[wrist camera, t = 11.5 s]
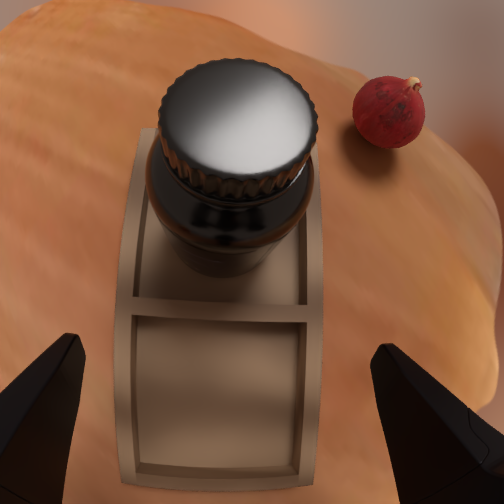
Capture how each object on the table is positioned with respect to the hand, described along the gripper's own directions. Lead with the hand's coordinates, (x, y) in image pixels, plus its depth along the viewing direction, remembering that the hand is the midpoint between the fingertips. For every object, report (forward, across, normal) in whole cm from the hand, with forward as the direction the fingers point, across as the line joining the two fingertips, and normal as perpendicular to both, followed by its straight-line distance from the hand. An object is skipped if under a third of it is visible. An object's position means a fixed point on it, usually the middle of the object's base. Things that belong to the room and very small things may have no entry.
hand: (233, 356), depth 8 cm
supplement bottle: (+12, 0, +2) cm, 13 cm away
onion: (+20, -12, -4) cm, 23 cm away
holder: (+9, 0, +7) cm, 11 cm away
